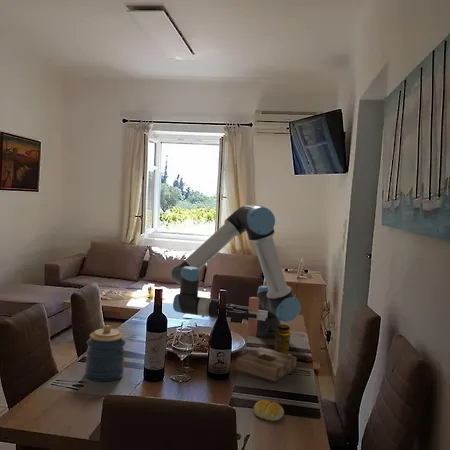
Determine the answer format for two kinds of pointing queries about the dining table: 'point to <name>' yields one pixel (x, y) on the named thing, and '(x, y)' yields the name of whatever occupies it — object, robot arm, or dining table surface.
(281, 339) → the condiment
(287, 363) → the socket block
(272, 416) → the bread roll
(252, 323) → the peg
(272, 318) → the robot arm
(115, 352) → the canister
